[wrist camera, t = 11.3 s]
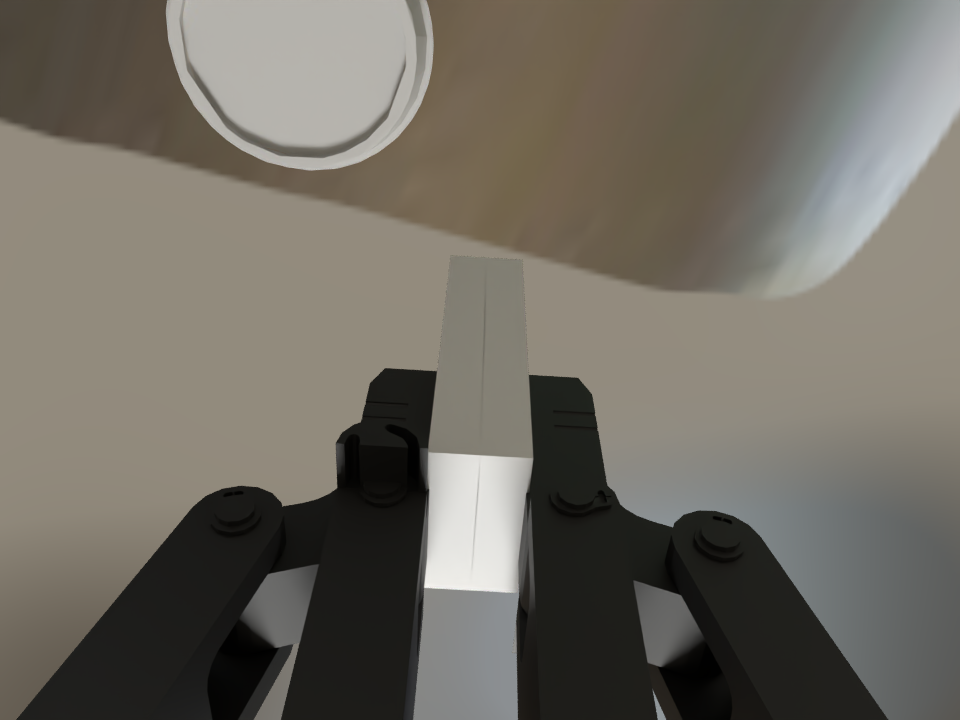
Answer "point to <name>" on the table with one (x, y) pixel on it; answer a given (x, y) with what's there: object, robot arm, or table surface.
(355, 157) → the disposable coffee cup
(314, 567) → the robot arm
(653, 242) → the table surface
